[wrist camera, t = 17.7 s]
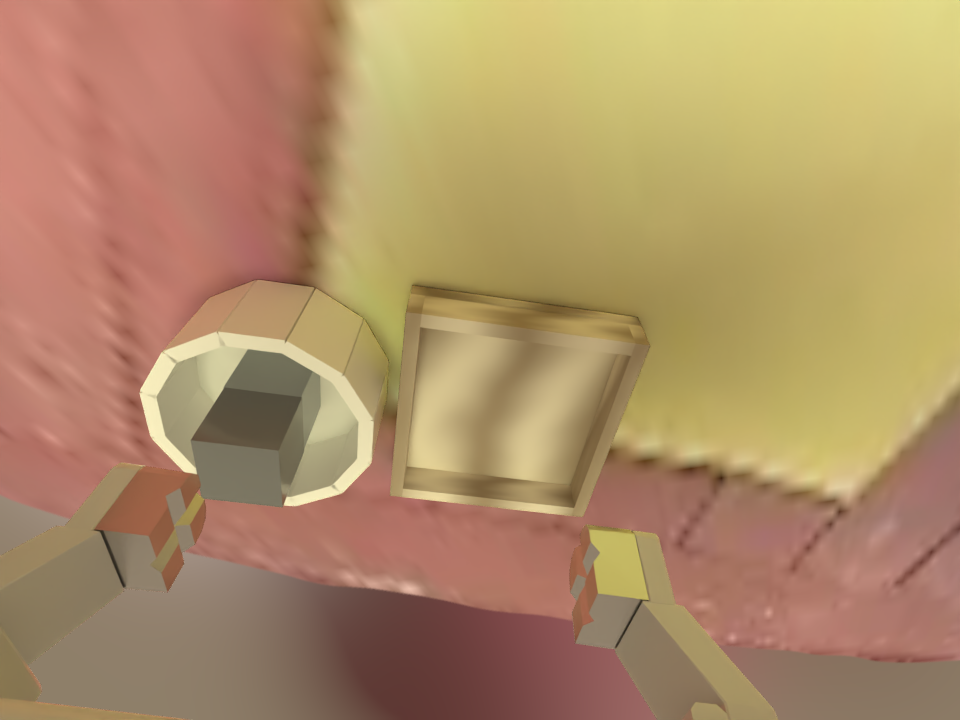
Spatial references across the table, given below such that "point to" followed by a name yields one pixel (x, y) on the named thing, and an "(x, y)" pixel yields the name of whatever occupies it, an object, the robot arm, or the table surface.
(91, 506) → the robot arm
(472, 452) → the parts tray
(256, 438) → the charcoal cube
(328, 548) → the table surface
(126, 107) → the table surface
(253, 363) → the taupe cube
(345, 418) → the bowl
